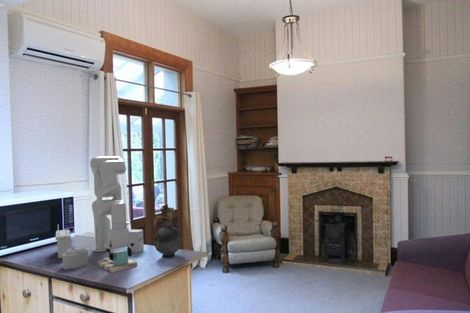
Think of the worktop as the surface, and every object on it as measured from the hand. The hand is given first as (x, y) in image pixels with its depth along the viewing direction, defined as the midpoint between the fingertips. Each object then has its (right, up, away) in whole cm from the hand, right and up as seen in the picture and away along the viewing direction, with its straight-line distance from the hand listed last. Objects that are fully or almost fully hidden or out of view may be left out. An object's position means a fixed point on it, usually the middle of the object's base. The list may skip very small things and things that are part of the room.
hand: (120, 258), depth 192 cm
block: (0, -3, 0) cm, 3 cm away
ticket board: (-3, -5, +4) cm, 7 cm away
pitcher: (+21, -4, +15) cm, 27 cm away
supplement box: (0, -5, +31) cm, 31 cm away
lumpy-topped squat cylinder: (-27, -6, +7) cm, 29 cm away
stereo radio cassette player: (-44, -6, +30) cm, 53 cm away
